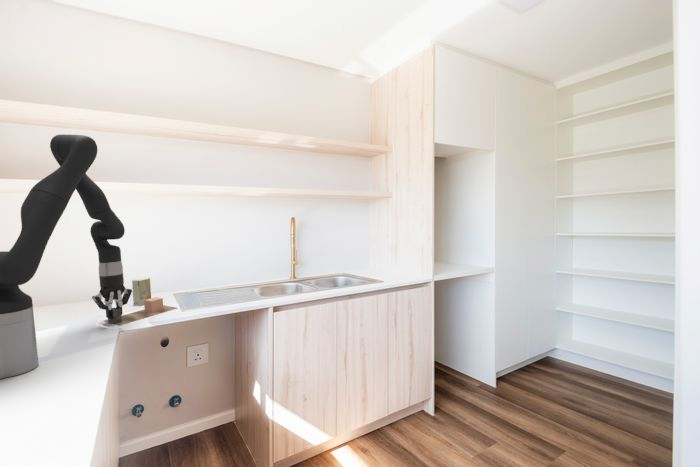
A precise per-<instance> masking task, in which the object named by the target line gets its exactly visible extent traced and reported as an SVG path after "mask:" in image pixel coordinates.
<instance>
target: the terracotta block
mask: <svg viewBox="0 0 700 467" xmlns="http://www.w3.org/2000/svg"><path fill="white" fill-rule="evenodd" d="M163 305H164V300H163V298H161V297H157V296H154V297H151V298H150V299H146V300H144V305H143V306H144V309H145V312H149V313H155V312H158V311H161V310H163Z"/></svg>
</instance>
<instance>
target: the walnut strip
mask: <svg viewBox="0 0 700 467" xmlns="http://www.w3.org/2000/svg"><path fill="white" fill-rule="evenodd" d="M177 309H178V307H175V306H168V305H164V304H163V310H161V311H158V312H155V313H149V312H145V308H144V309H141V310H138V311H133V312H130V313H127V314H122V315H121V309H118V308H116V307H112V313H113V319H108V318H107V319H104V320H103V322H105V323H109V324H112V325H117V326H123V325H127V324H131V323H133V322H137V321H140V320H144V319H146V318H149V317H154V316H157V315H160V314H164V313H167V312H171V311H173V310H174V311H175V310H177Z"/></svg>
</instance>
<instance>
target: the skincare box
mask: <svg viewBox="0 0 700 467" xmlns="http://www.w3.org/2000/svg"><path fill="white" fill-rule="evenodd" d="M131 284H132V285H131V286H132V298H133V299H132V300H133V301H132V304H133V306H135V307H142V306H144V300H146V299H150V298H152V292H151V291H152V289H151V288H152V287H151V278H150V277H141V278H137V279H134V280H133V279H132V280H131Z"/></svg>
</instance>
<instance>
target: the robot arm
mask: <svg viewBox="0 0 700 467" xmlns="http://www.w3.org/2000/svg"><path fill="white" fill-rule="evenodd" d="M49 148H50V150H51V151H50V152H51V154H52V156H53V157H54V160H55V161H56V162H57V164H58V166H59V167H58V168H57V169H56V170H54V171H53V172H52V173H50V174H48V175H46V177H44V178H42V179H40V180H39V181H38V182H37V183H36V184H35V185H33V187H32V188H30V189H31V190H29V192H28V194H27V196H26V197H25V198H24V201H23V202H22V204H21V207H20V221H21V230H20V233H19V235H18V237H17V239H16V240H15V242H14V244H13V245H12V247H10V249H9V251H7V250H5V251H0V380H1V379H4V378H9V377H14V376H19V375H23V374H24V373H27V372H30V371H33V370H34V369H36V368H37V367H38V366H39V356H38V355H39V354H38V345H37V334H36V325H35V317H34V316H35V314H34V306H33V298H32V296H30V295H29V294H27V293H25V292H24V291H23V290H22V289H21V288H20V287H19V286H23V285H24V284H26V283H28V282H29V281H31V279H33V278H34V276H35V275H36V272H37V271H38V268H39V265H40V263H41V261H42V257H43V255H44V253H45V250H46V247H47V245H48V242H49V240H50V239H51V236H52V234H53V233H54V230H55V228H56V226H57V224H58V223H59V221H60V219H61V217H62V215H63V214H64V212H65V211H66V208H67V206H68V204H69V202H70V200H71V198H72V196H73V194H74V192H75V191H76V192H77V193H78V195H79V197H80V199H81V201H82V203H83V205H84V208H85V210H86V212H87V214H88V216H89V217H90V218H91V219H93V220H96V221H94V222H93V223H92V224H91V226H90V236H91V238H92V241H93V243H94V245H95V248H96V250H97V255H98V278H99V287H100V290H99V293H98V294H96V295H93V296H92V297H91V299H92V300H93V301H94V303H95V304H96V305H97V307H98V308H99V309H100V310H105V315H106V316H105V317H106V318H107V320H108V319H113V313H112V308H113V303H114V302H115V306H116V307H115V308H118V309H121V316H122V315H123V306H124V305H127V304H128V302H129V299H130V297H131V295H132V294H133V289H131V288H126V287H125V285H124V282H125V280H124V268H123V262H122V252H121V248H120V246H117V245H114V244H111V243H110V242H109V240H111V241H112V240H119V239H121V238H123V236H124V235H125V227H124V223H123V221H121V220H120V218H119V217H118V216H117V214H116V213H115V212H114V210H113V209H112V208H111V205H110V204H109V201H108V198H107V196H106V194H105V193H104V192H103V190H102V189H101V187H99V186H98V184H97V183H95V181H93V180H92V179H91V177H89V176H88V174H87V172H88V170H89V169H90V167H92V165H93V163H94V161H95V160H96V158H97V155H98V145H97V143H96V140H95V139H94V138H92V137H90V136H87V135H82V134H55V136H53V137H52V138H51V140H50V144H49ZM102 298H104V300H102ZM103 301H104V302H103Z"/></svg>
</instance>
